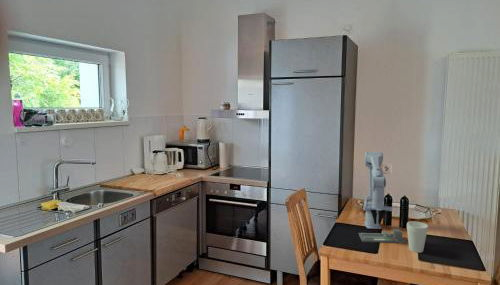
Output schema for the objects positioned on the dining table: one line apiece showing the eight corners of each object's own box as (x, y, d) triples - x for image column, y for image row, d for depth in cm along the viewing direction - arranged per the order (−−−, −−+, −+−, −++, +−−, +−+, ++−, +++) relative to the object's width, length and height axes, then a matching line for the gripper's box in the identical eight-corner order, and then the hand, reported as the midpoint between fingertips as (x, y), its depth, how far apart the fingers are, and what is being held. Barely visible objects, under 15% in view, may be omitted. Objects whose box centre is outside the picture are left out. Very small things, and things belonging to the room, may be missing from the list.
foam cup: (424, 247, 175) (425, 222, 174) (428, 254, 166) (430, 228, 165) (404, 245, 178) (405, 220, 176) (407, 252, 169) (408, 227, 167)
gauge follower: (381, 234, 188) (381, 231, 187) (387, 235, 187) (387, 231, 187) (385, 239, 181) (385, 235, 181) (391, 239, 181) (391, 235, 181)
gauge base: (358, 234, 192) (358, 226, 191) (399, 235, 190) (399, 227, 189) (362, 242, 182) (363, 233, 181) (406, 243, 180) (406, 234, 179)
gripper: (366, 200, 180) (365, 226, 182) (394, 201, 179) (393, 226, 181) (362, 197, 187) (362, 221, 189) (390, 197, 186) (389, 221, 187)
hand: (377, 223), depth 185 cm, fingers closed
